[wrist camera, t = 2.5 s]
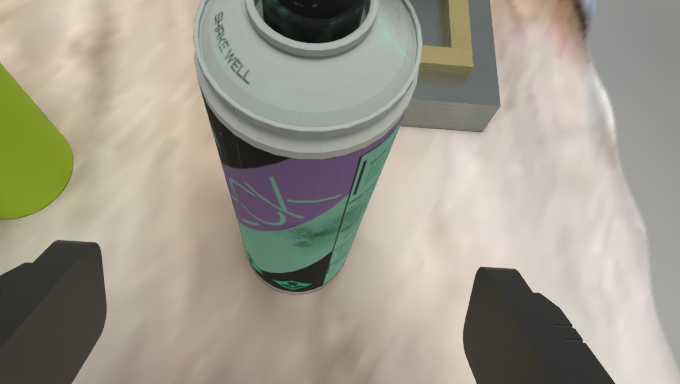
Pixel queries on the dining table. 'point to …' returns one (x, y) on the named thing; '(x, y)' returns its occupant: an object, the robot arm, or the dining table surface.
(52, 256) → the robot arm
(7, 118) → the soap dispenser
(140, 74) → the dining table surface
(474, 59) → the grey and tan frame
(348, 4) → the spray can
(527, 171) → the dining table surface
